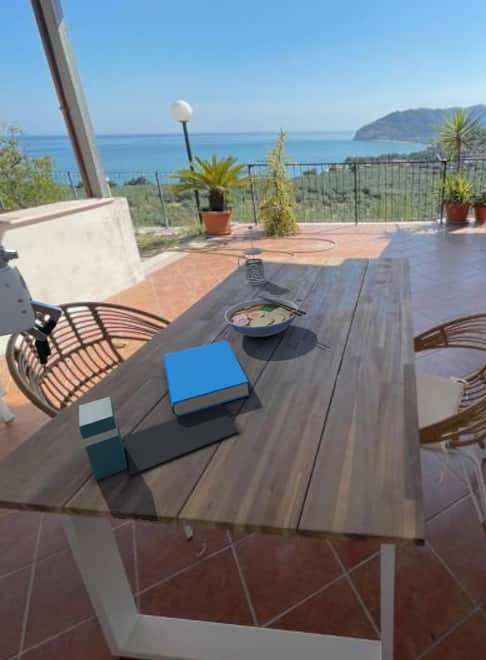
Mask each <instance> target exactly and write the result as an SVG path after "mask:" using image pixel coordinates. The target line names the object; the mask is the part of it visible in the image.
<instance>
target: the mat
mask: <svg viewBox="0 0 486 660" xmlns="http://www.w3.org/2000/svg"><path fill="white" fill-rule="evenodd" d="M237 434H239V430H238V428H237V426H236V425H235V423H234V422H233V420H232V418H231V416H230V414H229V412H228V411H227V409H226V407H225V405H224V403H222V404H219V405H215V406H212V407H209V408H205V409H202V410H199V411H195V412H192V413H189V414H185V415H182V416H179V417H176V418H174V419H171V420H167V421H165V422H162V423H160V424H157V425H154V426H150V427H147V428H145V429H143V430H139V431H137V432H134V433H131V434H128V435H125V436H124V437H123V439H124V447H125V453H126V459H127V465H128V471H129V475H130V477H132V476H135V475H138V474H141V473H142V472H144V471H145V472H146V471H148V470H150V469H153V468H155V467H157V466H160V465H163V464H165V463H167V462H170V461H173V460H175V459H177V458H180V457H183V456H185V455H186V454H190V453H192V452H195V451H197V450H199V449H203V448H204V447H207V446H209V445H212V444H214V443H217V442H220V441H221V440H224V439H227V438H229V437H232V436H234V435H237Z"/></svg>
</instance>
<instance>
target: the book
mask: <svg viewBox="0 0 486 660" xmlns="http://www.w3.org/2000/svg"><path fill="white" fill-rule="evenodd" d="M163 363H164V369H165V374H166V382H167V387H168V388H167V389H168V393H169V400H170V406H171V411H172V414H173V415H174V416H175V417H176V418H179V417H182V416H185V415H188V414H190V413H193V412H196V411H199V410H202V409H205V408H209V407H212V406H215V405H219V404H224V403H225V404H226V403H228V402H231V401H235V400H238V399H242V398H245V397H248V396H251V393H250V391H249V386H248V384H249V380H248V378H247V376H246V374H245V372H244V370H243V369H242V367H241V364H240V362H239V361H238V359H237V357H236V355H235V354H234V351H233V349H232V347H231V345H230V343H229V341H228V340H221V341H217V342H212V343H208V344H204V345H200V346H194V347H191V348H186V349H182V350H177V351H173V352H169V353H165V354H164V357H163Z"/></svg>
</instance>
